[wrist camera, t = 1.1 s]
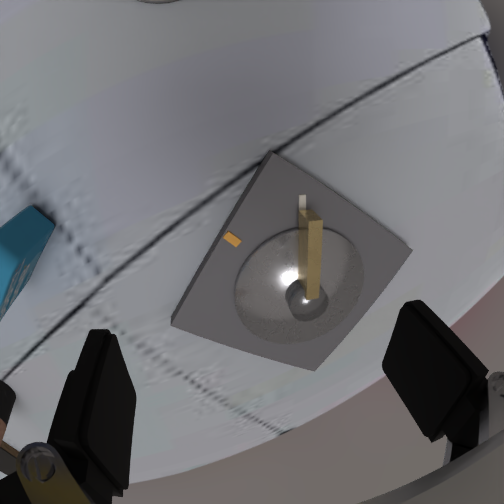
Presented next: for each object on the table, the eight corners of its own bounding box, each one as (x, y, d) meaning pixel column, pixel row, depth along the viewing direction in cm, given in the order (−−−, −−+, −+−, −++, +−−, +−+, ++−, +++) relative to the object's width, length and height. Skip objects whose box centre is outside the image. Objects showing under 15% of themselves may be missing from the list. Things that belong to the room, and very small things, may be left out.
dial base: (269, 150, 34) (274, 153, 32) (405, 244, 43) (413, 251, 41) (171, 316, 42) (170, 327, 40) (310, 363, 51) (314, 372, 49)
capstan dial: (352, 326, 46) (364, 345, 42) (240, 348, 44) (244, 370, 40) (368, 201, 37) (387, 213, 33) (225, 215, 34) (229, 230, 30)
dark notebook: (13, 479, 63) (-35, 446, 52) (15, 472, 66) (-33, 439, 56) (44, 475, 59) (-17, 436, 48) (46, 466, 63) (-13, 426, 52)
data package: (28, 282, 36) (-8, 333, 25) (6, 264, 34) (-34, 312, 23) (58, 221, 33) (14, 266, 22) (34, 201, 31) (-17, 239, 21)
